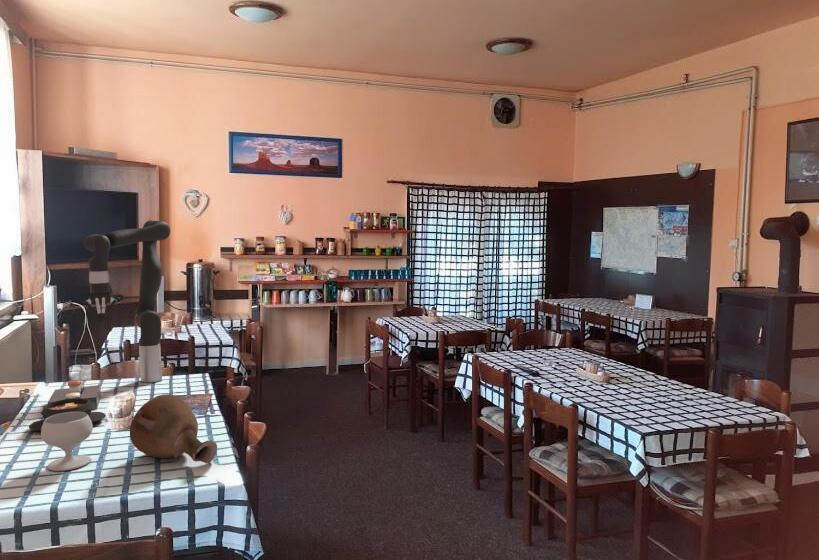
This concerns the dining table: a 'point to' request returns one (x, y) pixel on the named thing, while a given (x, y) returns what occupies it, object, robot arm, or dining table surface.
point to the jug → (169, 430)
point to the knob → (72, 395)
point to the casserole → (67, 410)
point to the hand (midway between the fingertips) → (102, 321)
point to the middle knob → (74, 386)
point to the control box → (87, 393)
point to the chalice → (67, 438)
